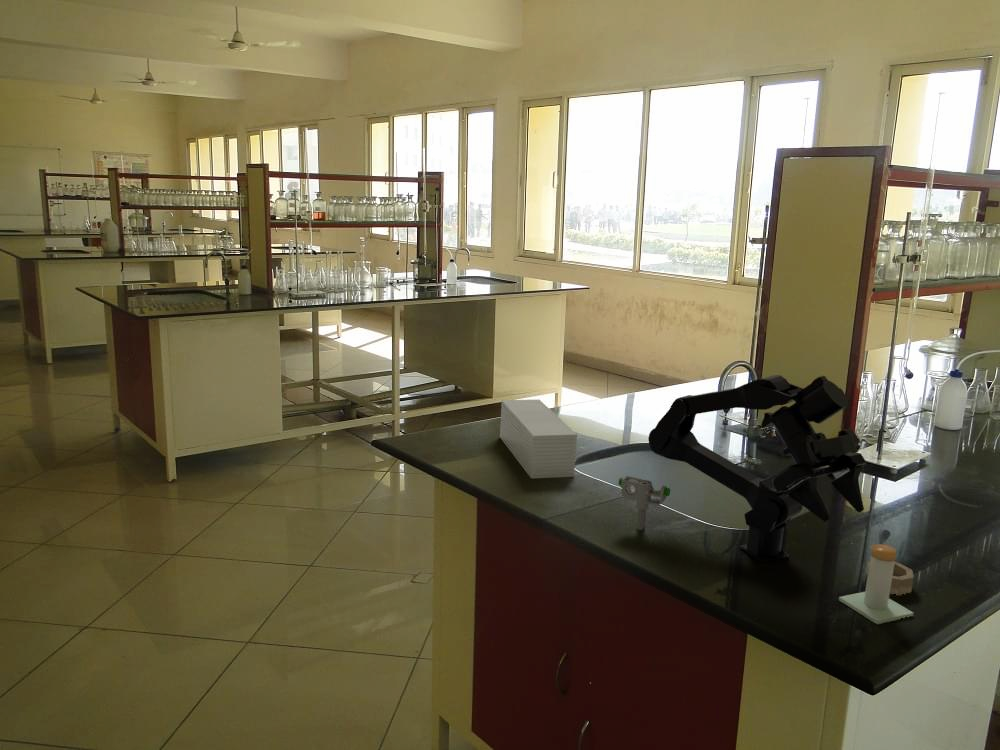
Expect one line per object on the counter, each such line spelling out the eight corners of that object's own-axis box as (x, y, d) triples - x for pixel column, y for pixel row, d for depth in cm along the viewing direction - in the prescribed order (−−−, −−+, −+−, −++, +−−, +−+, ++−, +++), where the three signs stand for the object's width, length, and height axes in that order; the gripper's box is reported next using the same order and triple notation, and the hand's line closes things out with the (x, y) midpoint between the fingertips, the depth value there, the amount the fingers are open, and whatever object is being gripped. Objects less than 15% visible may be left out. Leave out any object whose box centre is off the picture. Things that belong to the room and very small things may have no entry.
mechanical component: (662, 537, 154) (667, 489, 151) (614, 525, 159) (617, 478, 156) (667, 532, 156) (671, 485, 154) (619, 520, 161) (622, 474, 159)
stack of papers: (499, 438, 213) (501, 400, 211) (537, 436, 216) (539, 399, 213) (531, 479, 183) (533, 435, 180) (574, 477, 185) (577, 434, 183)
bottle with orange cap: (867, 609, 128) (876, 553, 126) (859, 597, 132) (867, 543, 130) (891, 611, 128) (900, 555, 125) (883, 599, 131) (891, 545, 129)
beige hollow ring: (884, 598, 133) (887, 582, 132) (851, 579, 140) (853, 563, 139) (919, 591, 136) (922, 575, 136) (886, 572, 143) (888, 557, 142)
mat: (876, 624, 125) (877, 620, 125) (838, 600, 132) (839, 596, 132) (913, 616, 128) (913, 612, 128) (873, 592, 135) (874, 589, 135)
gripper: (794, 420, 129) (844, 505, 123) (864, 408, 139) (913, 487, 132) (752, 451, 138) (796, 533, 131) (820, 438, 147) (865, 513, 140)
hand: (844, 515), depth 133 cm, fingers open, 9 cm apart
